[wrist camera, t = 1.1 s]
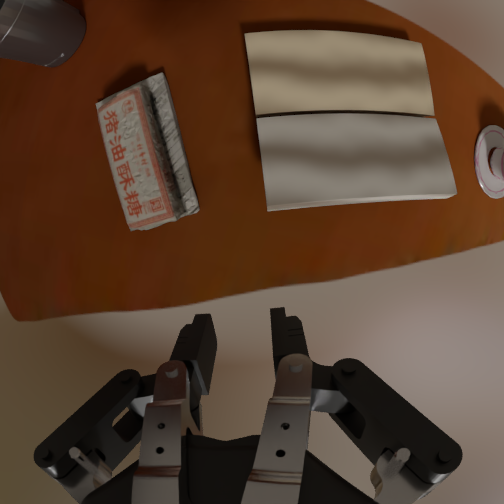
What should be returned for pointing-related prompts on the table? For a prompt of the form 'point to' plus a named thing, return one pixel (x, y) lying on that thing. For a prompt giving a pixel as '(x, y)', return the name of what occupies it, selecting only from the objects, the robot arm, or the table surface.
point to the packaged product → (147, 154)
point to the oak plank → (337, 73)
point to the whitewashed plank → (352, 159)
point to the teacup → (500, 161)
